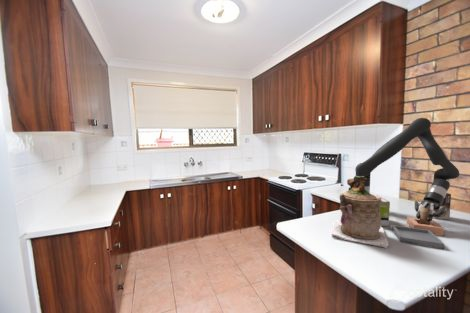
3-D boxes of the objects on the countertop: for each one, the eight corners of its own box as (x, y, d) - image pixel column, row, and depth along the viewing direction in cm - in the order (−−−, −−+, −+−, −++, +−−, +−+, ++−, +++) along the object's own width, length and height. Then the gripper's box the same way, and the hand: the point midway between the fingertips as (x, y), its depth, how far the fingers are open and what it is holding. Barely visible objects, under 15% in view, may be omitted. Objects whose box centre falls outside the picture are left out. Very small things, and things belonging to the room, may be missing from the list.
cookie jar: (383, 230, 114) (386, 173, 112) (389, 250, 93) (393, 181, 91) (334, 221, 127) (335, 170, 124) (330, 238, 106) (331, 176, 103)
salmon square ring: (413, 231, 112) (414, 224, 111) (406, 223, 122) (407, 217, 122) (443, 235, 106) (444, 228, 106) (433, 227, 117) (433, 220, 117)
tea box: (389, 226, 119) (390, 201, 117) (370, 225, 121) (371, 200, 120) (377, 217, 133) (378, 194, 132) (360, 216, 135) (360, 194, 134)
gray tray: (400, 242, 101) (400, 237, 100) (391, 229, 115) (392, 224, 115) (443, 249, 94) (444, 243, 93) (429, 234, 108) (429, 230, 108)
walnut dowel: (420, 230, 113) (422, 209, 112) (418, 227, 117) (419, 206, 116) (430, 231, 112) (431, 210, 111) (427, 228, 115) (428, 207, 114)
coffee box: (440, 215, 135) (442, 191, 134) (450, 219, 128) (451, 193, 127) (425, 215, 136) (427, 191, 135) (434, 218, 129) (435, 193, 128)
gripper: (417, 188, 122) (405, 211, 118) (450, 194, 109) (437, 220, 105) (422, 196, 125) (409, 219, 121) (454, 202, 112) (442, 228, 108)
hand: (422, 219), depth 113 cm, fingers closed on walnut dowel, 4 cm apart
